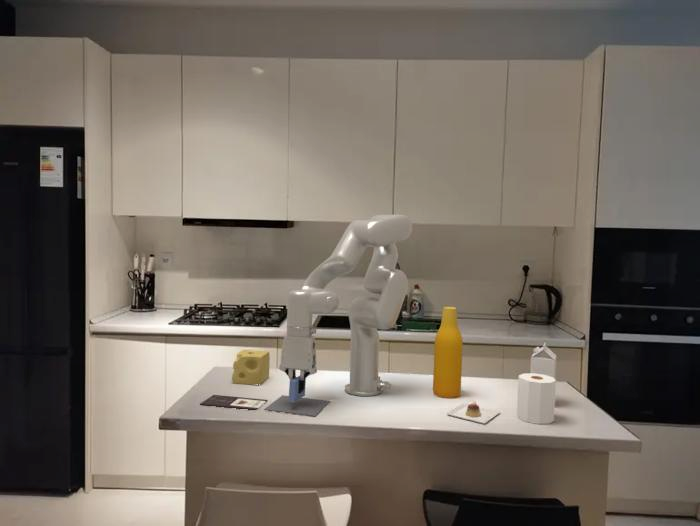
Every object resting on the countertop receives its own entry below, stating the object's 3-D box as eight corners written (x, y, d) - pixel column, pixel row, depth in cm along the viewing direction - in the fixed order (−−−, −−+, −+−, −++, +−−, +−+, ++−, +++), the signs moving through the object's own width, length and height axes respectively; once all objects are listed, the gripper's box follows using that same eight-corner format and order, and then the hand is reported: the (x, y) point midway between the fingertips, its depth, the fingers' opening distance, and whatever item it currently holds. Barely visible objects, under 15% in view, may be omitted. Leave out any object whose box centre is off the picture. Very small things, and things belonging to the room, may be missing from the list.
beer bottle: (452, 389, 183) (455, 305, 181) (466, 397, 174) (469, 309, 173) (427, 391, 180) (430, 306, 178) (440, 399, 171) (444, 310, 170)
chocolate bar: (213, 394, 169) (267, 399, 165) (213, 397, 169) (267, 402, 165) (200, 403, 160) (256, 409, 156) (200, 406, 160) (256, 412, 156)
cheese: (231, 383, 183) (232, 355, 182) (243, 375, 193) (243, 348, 193) (260, 386, 181) (261, 357, 181) (270, 377, 192) (271, 350, 191)
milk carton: (554, 401, 173) (557, 343, 172) (552, 407, 167) (555, 347, 165) (531, 397, 176) (533, 340, 175) (528, 403, 170) (531, 344, 168)
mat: (330, 402, 166) (330, 400, 166) (315, 416, 153) (315, 415, 153) (282, 396, 170) (282, 395, 170) (263, 410, 157) (263, 409, 157)
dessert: (484, 427, 150) (485, 410, 150) (445, 417, 157) (446, 401, 157) (500, 415, 160) (500, 400, 159) (462, 407, 167) (463, 391, 166)
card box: (294, 401, 156) (295, 381, 156) (288, 401, 157) (289, 380, 157) (304, 395, 165) (305, 375, 165) (299, 394, 165) (300, 375, 165)
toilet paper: (550, 413, 161) (552, 374, 160) (556, 426, 151) (558, 383, 150) (515, 410, 163) (517, 371, 162) (518, 422, 153) (520, 380, 152)
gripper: (327, 331, 162) (325, 391, 162) (280, 327, 166) (278, 385, 167) (320, 335, 154) (317, 398, 155) (270, 331, 158) (268, 392, 159)
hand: (297, 391), depth 161 cm, fingers closed on card box, 1 cm apart
